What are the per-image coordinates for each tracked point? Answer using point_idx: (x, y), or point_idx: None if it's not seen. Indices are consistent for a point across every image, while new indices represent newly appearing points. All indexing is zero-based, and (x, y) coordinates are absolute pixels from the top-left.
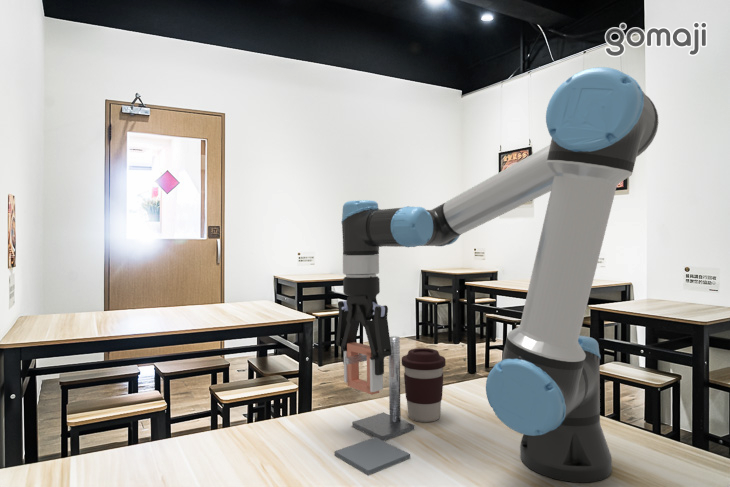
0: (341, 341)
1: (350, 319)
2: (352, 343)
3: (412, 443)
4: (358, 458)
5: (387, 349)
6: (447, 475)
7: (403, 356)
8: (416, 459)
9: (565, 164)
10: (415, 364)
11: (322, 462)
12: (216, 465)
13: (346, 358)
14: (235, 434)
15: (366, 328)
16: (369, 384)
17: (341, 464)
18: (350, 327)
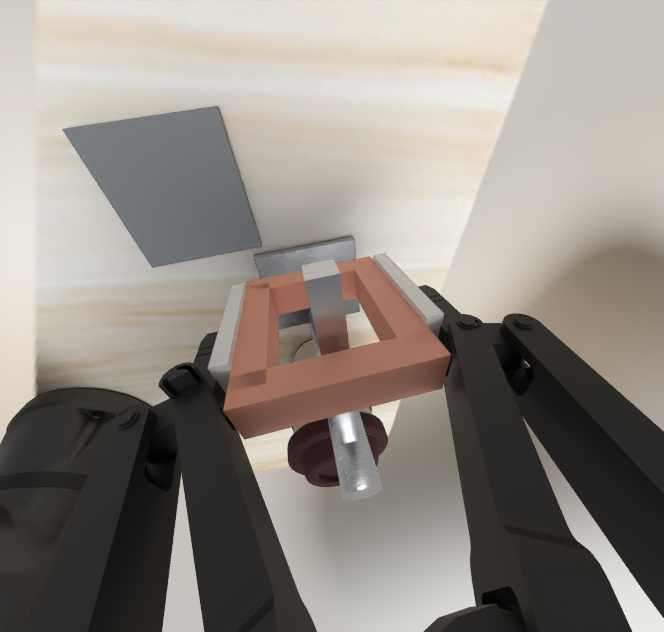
0: (512, 345)
1: (533, 615)
2: (425, 375)
3: (224, 297)
4: (149, 146)
5: (156, 464)
6: (61, 285)
7: (380, 432)
8: (148, 271)
9: None
10: (310, 434)
11: (182, 39)
12: None
13: (323, 275)
14: None
15: (241, 583)
16: (255, 295)
17: (155, 94)
18: (485, 478)
